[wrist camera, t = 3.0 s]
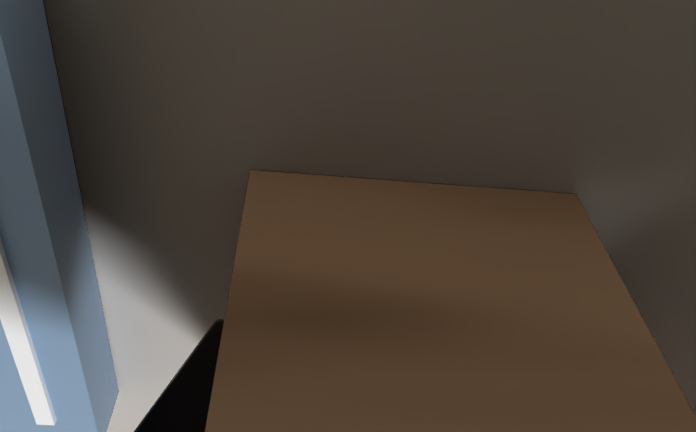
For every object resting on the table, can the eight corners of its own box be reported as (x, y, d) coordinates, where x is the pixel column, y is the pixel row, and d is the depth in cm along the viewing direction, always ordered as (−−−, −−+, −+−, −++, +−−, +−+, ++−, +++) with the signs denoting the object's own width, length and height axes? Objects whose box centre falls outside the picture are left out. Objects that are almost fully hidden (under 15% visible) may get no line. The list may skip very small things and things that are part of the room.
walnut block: (493, 391, 13) (570, 689, 9) (247, 380, 12) (210, 690, 8) (576, 194, 10) (750, 517, 6) (250, 169, 9) (191, 503, 5)
